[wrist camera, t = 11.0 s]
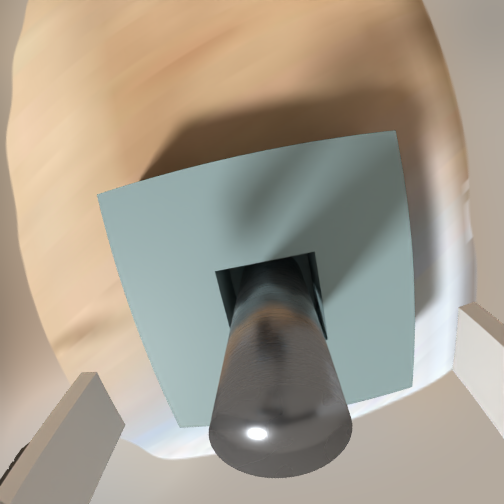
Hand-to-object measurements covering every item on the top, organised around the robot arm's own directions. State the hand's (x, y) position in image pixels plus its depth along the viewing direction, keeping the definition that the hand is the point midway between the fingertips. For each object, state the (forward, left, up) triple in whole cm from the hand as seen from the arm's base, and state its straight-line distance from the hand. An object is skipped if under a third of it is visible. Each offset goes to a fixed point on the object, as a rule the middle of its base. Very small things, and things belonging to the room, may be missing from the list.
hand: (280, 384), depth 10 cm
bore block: (0, 0, -13) cm, 13 cm away
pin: (0, 0, -12) cm, 12 cm away
